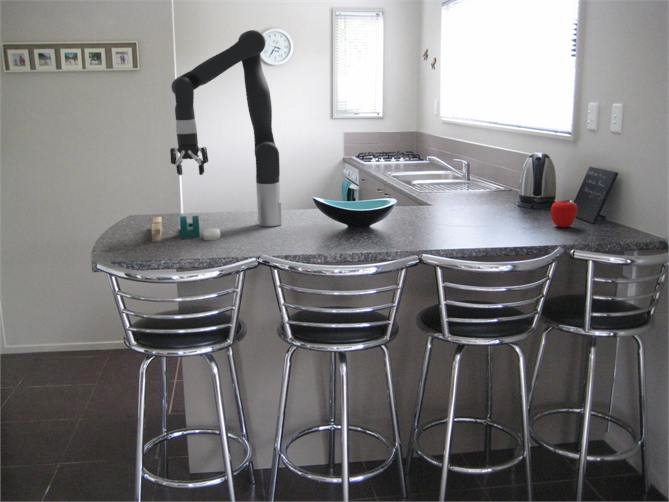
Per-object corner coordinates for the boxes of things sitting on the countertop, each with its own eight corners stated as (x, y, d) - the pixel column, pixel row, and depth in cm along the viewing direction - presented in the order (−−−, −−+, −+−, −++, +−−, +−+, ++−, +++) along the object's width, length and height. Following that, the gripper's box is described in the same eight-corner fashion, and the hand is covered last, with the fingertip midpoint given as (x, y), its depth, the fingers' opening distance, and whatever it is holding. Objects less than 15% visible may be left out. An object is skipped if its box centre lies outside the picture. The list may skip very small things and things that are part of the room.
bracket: (199, 237, 251) (198, 217, 249) (181, 238, 249) (179, 218, 247) (199, 227, 268) (198, 208, 266) (182, 228, 267) (181, 209, 265)
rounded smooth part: (220, 236, 253) (219, 227, 252) (221, 240, 246) (220, 230, 246) (202, 237, 251) (202, 228, 250) (203, 241, 245) (202, 231, 244)
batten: (162, 227, 268) (161, 216, 266) (160, 241, 245) (159, 229, 244) (154, 228, 267) (153, 216, 266) (152, 241, 244) (151, 229, 243)
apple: (545, 227, 259) (547, 199, 256) (556, 223, 266) (558, 196, 263) (569, 230, 253) (571, 202, 250) (580, 226, 259) (582, 199, 257)
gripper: (208, 130, 253) (212, 173, 257) (173, 131, 256) (177, 173, 260) (200, 132, 246) (204, 176, 250) (164, 133, 249) (169, 176, 253)
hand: (190, 174), depth 255 cm, fingers open, 8 cm apart
